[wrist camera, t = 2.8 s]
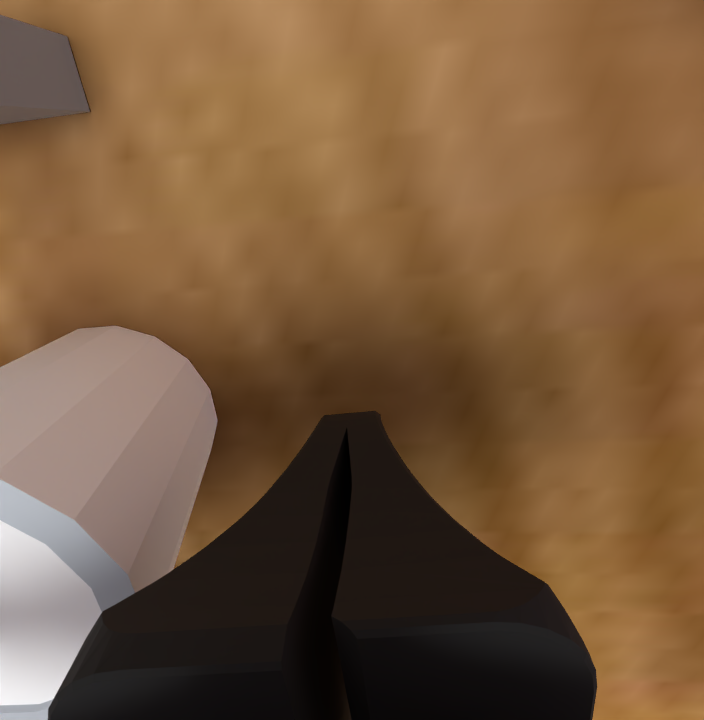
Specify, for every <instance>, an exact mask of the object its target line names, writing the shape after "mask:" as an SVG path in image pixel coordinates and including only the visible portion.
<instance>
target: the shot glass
mask: <svg viewBox="0 0 704 720" xmlns="http://www.w3.org/2000/svg"><path fill="white" fill-rule="evenodd" d="M217 422H218V419H217V415H216V411H215V407H214V403H213V399H212V395H211V391H210V388H209V387H208V386H207V384H206V383H205V381H204V380H203V379H202V377H201V376H200V375H199V373H198V372H197V371H196V369H195V368H194V366H193V365H192V364H191V362H190V361H189V360H188V359H187V358H186V357H184V356H183V355H181V354H180V353H178V352H177V351H175V350H174V349H173V348H171V347H170V346H168V345H167V344H165V343H164V342H162V341H161V340H159V339H158V338H156V337H155V336H151V335H148V334H144V333H141V332H137V331H134V330H130V329H126V328H123V327H119V326H105V327H93V328H81V329H77V330H75V331H73V332H71V333H69V334H67V335H65V336H63V337H61V338H58V339H56V340H54V341H52V342H50V343H48V344H46V345H44V346H42V347H40V348H38V349H36V350H34V351H32V352H30V353H28V354H26V355H24V356H22V357H20V358H18V359H16V360H14V361H12V362H10V363H8V364H6V365H4V366H2V367H0V720H48V708H49V706H50V705H51V703H52V701H53V699H54V697H55V695H56V693H57V692H58V690H59V688H60V686H61V684H62V682H63V680H64V679H65V677H66V675H67V673H68V671H69V669H70V667H71V665H72V664H73V662H74V660H75V658H76V656H77V654H78V652H79V650H80V648H81V647H82V645H83V643H84V641H85V639H86V637H87V636H88V634H89V632H90V631H91V629H92V628H93V626H94V624H95V623H96V621H97V619H98V618H99V616H100V615H101V613H102V611H104V610H106V609H108V608H110V607H111V606H113V605H115V604H117V603H119V602H120V601H122V600H124V599H125V598H127V597H129V596H131V595H132V594H134V593H136V592H138V591H139V590H141V589H143V588H145V587H146V586H148V585H150V584H151V583H153V582H155V581H156V580H158V579H160V578H161V577H163V576H164V575H166V574H168V573H169V572H171V571H172V570H173V569H174V566H175V562H176V559H177V556H178V553H179V550H180V547H181V543H182V540H183V537H184V534H185V531H186V528H187V525H188V521H189V518H190V515H191V512H192V509H193V506H194V502H195V499H196V496H197V493H198V490H199V487H200V484H201V480H202V477H203V474H204V471H205V468H206V465H207V462H208V458H209V455H210V452H211V449H212V444H213V440H214V435H215V431H216V427H217Z"/></svg>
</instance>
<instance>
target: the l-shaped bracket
mask: <svg viewBox="0 0 704 720" xmlns="http://www.w3.org/2000/svg"><path fill="white" fill-rule="evenodd" d="M86 112H90V110H89V107H88V103H87V100H86V97H85V94H84V90H83V87H82V84H81V81H80V77H79V74H78V71H77V68H76V64H75V61H74V58H73V54H72V51H71V48H70V45H69V41H68V38H67V36H64V35H61V34H58V33H55V32H52V31H49V30H46V29H43V28H40V27H36V26H33V25H30V24H27V23H24V22H21V21H18V20H15V19H12V18H9V17H5V16H2V15H0V124H7V123H14V122H21V121H28V120H35V119H43V118H50V117H57V116H64V115H71V114H78V113H86Z"/></svg>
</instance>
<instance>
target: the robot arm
mask: <svg viewBox="0 0 704 720" xmlns="http://www.w3.org/2000/svg"><path fill="white" fill-rule="evenodd" d="M596 690H597V679H596V669H595V667H594V665H593V662H592V660H591V657H590V654H589V652H588V650H587V648H586V646H585V644H584V642H583V640H582V638H581V636H580V635H579V633H578V631H577V629H576V628H575V626H574V624H573V622H572V621H571V619H570V617H569V616H568V614H567V612H566V611H565V609H564V608H563V606H562V605H561V603H560V602H559V600H558V599H557V597H556V596H555V594H554V593H553V591H552V590H551V588H550V587H549V585H548V584H546V583H545V582H543V581H542V580H540V579H538V578H537V577H535V576H533V575H532V574H530V573H528V572H527V571H525V570H523V569H521V568H520V567H518V566H516V565H515V564H513V563H511V562H510V561H508V560H506V559H505V558H503V557H501V556H500V555H498V554H497V553H496V552H494V551H493V550H491V549H490V548H489V547H487V546H486V545H484V544H483V543H482V542H481V541H480V540H478V539H477V538H476V537H475V536H473V535H472V534H471V533H470V532H469V531H467V530H466V529H465V528H464V527H463V526H461V525H460V524H459V523H458V522H456V521H455V520H454V519H453V518H452V517H451V516H450V515H449V514H448V513H447V512H446V511H445V510H444V509H443V508H442V507H441V506H440V505H439V504H438V503H437V502H436V501H435V500H434V499H433V498H432V497H431V496H430V495H429V494H428V493H427V491H426V490H425V489H424V488H423V487H422V486H421V484H420V483H419V482H418V481H417V480H416V478H415V477H414V476H413V474H412V473H411V472H410V470H409V469H408V468H407V466H406V465H405V463H404V462H403V461H402V459H401V457H400V456H399V454H398V453H397V451H396V450H395V448H394V446H393V445H392V443H391V441H390V439H389V437H388V435H387V433H386V431H385V429H384V427H383V424H382V421H381V417H380V414H378V413H377V412H376V411H368V412H357V413H346V414H335V415H324V417H323V418H322V419H321V420H320V422H319V423H318V425H317V426H316V428H315V429H314V431H313V433H312V434H311V436H310V437H309V439H308V440H307V442H306V443H305V445H304V446H303V447H302V449H301V450H300V452H299V453H298V454H297V456H296V457H295V458H294V460H293V461H292V462H291V464H290V465H289V466H288V468H287V469H286V470H285V471H284V473H283V474H282V475H281V476H280V477H279V479H278V480H277V481H276V482H275V483H274V484H273V486H272V487H271V488H270V489H269V490H268V491H267V493H266V494H265V495H264V496H263V497H262V498H261V499H260V500H259V501H258V502H257V503H256V504H255V505H254V506H253V507H252V508H251V509H250V510H249V511H248V512H247V513H246V514H245V515H244V516H243V517H242V518H240V519H239V520H238V521H237V522H236V523H235V524H233V525H232V526H231V527H230V528H228V529H227V530H226V531H225V532H224V533H222V534H221V535H220V536H219V537H217V538H216V539H215V540H214V541H213V542H211V543H210V544H209V545H208V546H206V547H205V548H204V549H202V550H201V551H200V552H198V553H197V554H195V555H194V556H193V557H191V558H190V559H188V560H187V561H186V562H184V563H183V564H181V565H180V566H178V567H177V568H175V569H174V570H172V571H171V572H169V573H168V574H166V575H164V576H163V577H161V578H160V579H158V580H156V581H155V582H153V583H151V584H150V585H148V586H146V587H145V588H143V589H141V590H139V591H138V592H136V593H134V594H132V595H131V596H129V597H127V598H125V599H124V600H122V601H120V602H119V603H117V604H115V605H113V606H111V607H110V608H108V609H106V610H104V611H102V613H101V615H100V616H99V618H98V619H97V621H96V623H95V624H94V626H93V628H92V629H91V631H90V632H89V634H88V636H87V637H86V639H85V641H84V643H83V645H82V647H81V648H80V650H79V652H78V654H77V656H76V658H75V660H74V662H73V664H72V665H71V667H70V669H69V671H68V673H67V675H66V677H65V679H64V680H63V682H62V684H61V686H60V688H59V690H58V692H57V693H56V695H55V697H54V699H53V701H52V703H51V705H50V706H49V708H48V720H592V717H593V711H594V704H595V697H596Z"/></svg>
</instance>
